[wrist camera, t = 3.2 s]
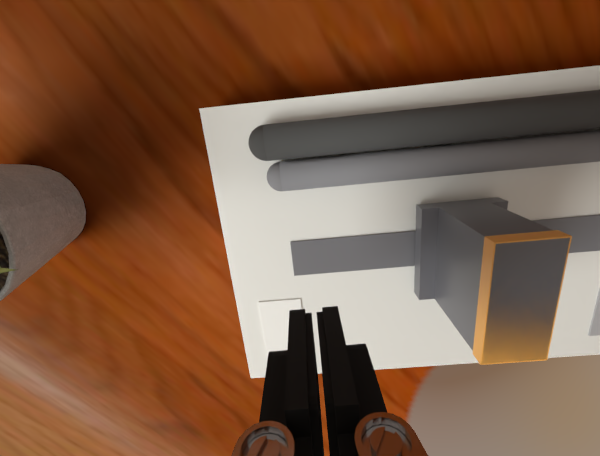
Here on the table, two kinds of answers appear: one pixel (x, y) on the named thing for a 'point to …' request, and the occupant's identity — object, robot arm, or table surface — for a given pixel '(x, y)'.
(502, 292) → the handle
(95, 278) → the table surface
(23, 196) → the house plant
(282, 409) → the robot arm
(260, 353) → the base
